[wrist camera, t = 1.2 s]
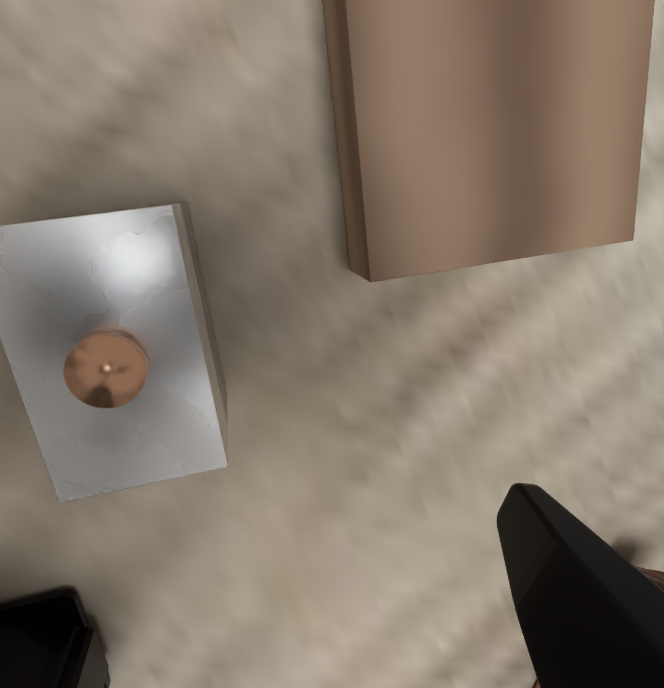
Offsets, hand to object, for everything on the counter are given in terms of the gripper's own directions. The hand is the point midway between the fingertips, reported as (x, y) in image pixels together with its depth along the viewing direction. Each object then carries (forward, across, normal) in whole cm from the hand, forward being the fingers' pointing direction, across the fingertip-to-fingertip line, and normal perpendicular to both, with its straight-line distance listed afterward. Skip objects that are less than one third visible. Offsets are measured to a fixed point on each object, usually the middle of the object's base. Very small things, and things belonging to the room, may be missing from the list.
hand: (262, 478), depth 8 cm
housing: (+11, +5, +3) cm, 13 cm away
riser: (+15, -6, -7) cm, 18 cm away
